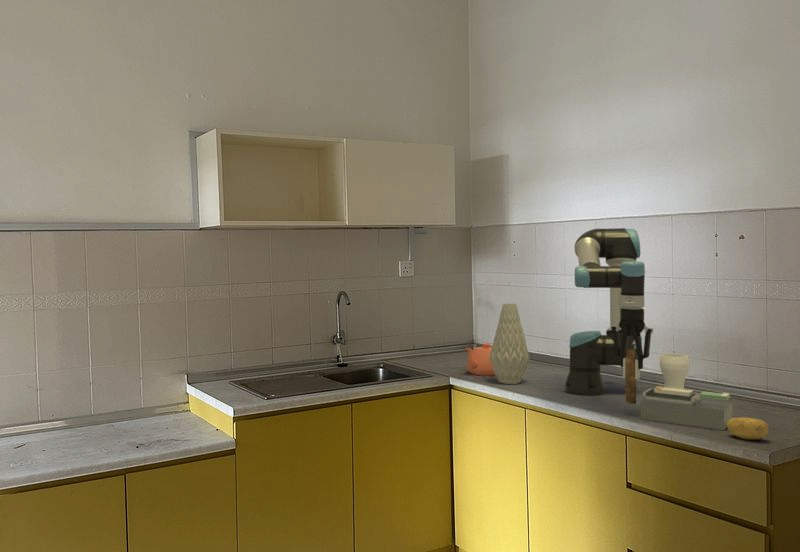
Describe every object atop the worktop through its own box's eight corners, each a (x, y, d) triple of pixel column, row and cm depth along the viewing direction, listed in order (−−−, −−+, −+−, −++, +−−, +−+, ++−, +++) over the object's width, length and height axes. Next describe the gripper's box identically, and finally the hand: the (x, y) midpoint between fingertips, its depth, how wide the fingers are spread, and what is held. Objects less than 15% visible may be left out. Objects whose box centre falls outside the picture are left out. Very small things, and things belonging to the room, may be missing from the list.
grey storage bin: (640, 419, 231) (641, 393, 230) (652, 411, 241) (652, 387, 241) (723, 430, 216) (724, 402, 216) (732, 422, 227) (732, 395, 227)
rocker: (654, 392, 232) (654, 388, 232) (658, 390, 236) (658, 386, 236) (689, 396, 226) (689, 392, 226) (692, 394, 229) (693, 389, 229)
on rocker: (699, 397, 224) (699, 393, 224) (703, 395, 228) (703, 390, 228) (726, 400, 219) (726, 396, 219) (730, 398, 223) (730, 393, 223)
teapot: (479, 379, 304) (479, 347, 304) (451, 373, 317) (451, 344, 316) (517, 372, 320) (517, 343, 320) (490, 368, 333) (490, 339, 332)
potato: (761, 444, 200) (762, 422, 200) (722, 437, 209) (722, 415, 208) (771, 440, 205) (772, 419, 204) (732, 433, 213) (733, 412, 213)
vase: (509, 377, 308) (509, 301, 307) (537, 383, 294) (538, 304, 293) (480, 381, 298) (480, 303, 297) (508, 387, 284) (509, 305, 283)
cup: (654, 392, 275) (655, 353, 275) (680, 391, 276) (681, 353, 276) (667, 397, 265) (667, 357, 264) (694, 397, 265) (695, 357, 265)
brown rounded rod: (623, 402, 236) (624, 349, 236) (627, 401, 239) (628, 348, 239) (634, 404, 234) (635, 350, 234) (637, 402, 237) (638, 348, 237)
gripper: (604, 307, 237) (603, 377, 239) (654, 310, 228) (653, 382, 229) (611, 305, 243) (610, 373, 245) (660, 308, 234) (659, 378, 235)
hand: (631, 377), depth 237 cm, fingers closed on brown rounded rod, 3 cm apart
